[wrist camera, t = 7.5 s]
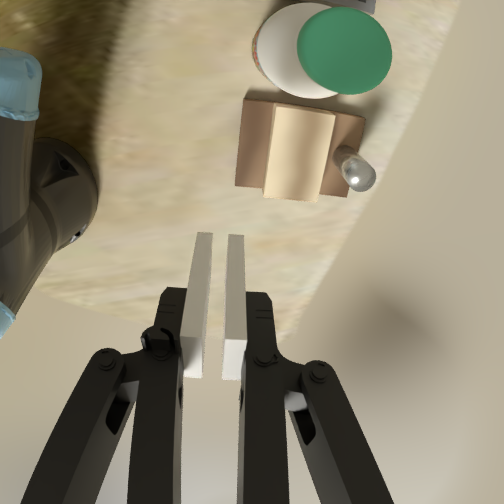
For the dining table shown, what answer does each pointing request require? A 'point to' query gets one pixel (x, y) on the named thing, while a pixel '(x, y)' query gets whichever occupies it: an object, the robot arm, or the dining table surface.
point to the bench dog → (354, 168)
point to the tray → (347, 4)
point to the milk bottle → (322, 50)
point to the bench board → (257, 139)
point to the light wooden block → (297, 152)
